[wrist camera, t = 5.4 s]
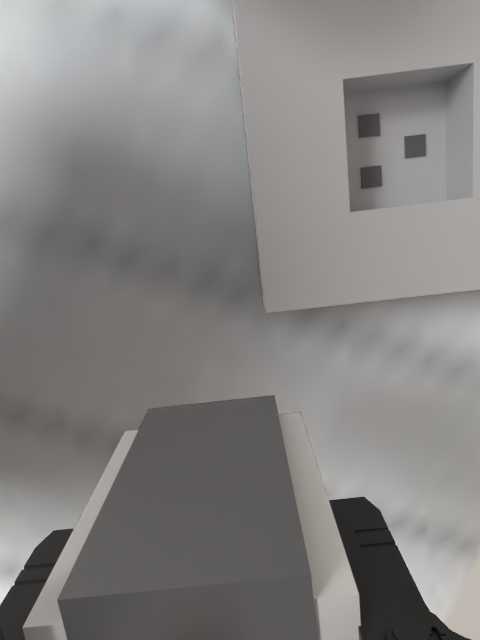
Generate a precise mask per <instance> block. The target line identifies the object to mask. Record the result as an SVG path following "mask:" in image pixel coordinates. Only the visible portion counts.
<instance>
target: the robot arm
mask: <svg viewBox="0 0 480 640" xmlns="http://www.w3.org/2000/svg"><path fill="white" fill-rule="evenodd" d="M278 416H279V421H280V426H281V431H282V435H283V440H284V445H285V450H286V455H287V460H288V465H289V469H290V474H291V479H292V484H293V489H294V494H295V499H296V503H297V508H298V513H299V518H300V523H301V528H302V533H303V537H304V542H305V547H306V552H307V557H308V562H309V566H310V571H311V578H312V589H313V600H314V610H315V621H316V632H317V640H470V639H468V638H465V637H463V636H461V635H459V634H457V633H455V632H453V631H451V630H450V629H449V628H448V627H447V626H446V625H445V624H444V623H443V622H442V621H441V620H440V619H439V618H438V617H437V616H436V615H435V614H433V613H431V612H430V611H429V609H428V607H427V606H426V604H425V603H424V601H423V599H422V597H421V595H420V593H419V590H418V588H417V586H416V584H415V582H414V580H413V578H412V576H411V574H410V572H409V570H408V568H407V566H406V564H405V562H404V560H403V557H402V555H401V553H400V551H399V549H398V547H397V545H395V541H394V539H393V537H392V535H391V533H390V531H389V530H388V527H387V525H386V522H385V520H384V518H383V516H382V514H381V512H380V510H379V509H378V508H376V507H375V506H374V505H373V504H372V503H371V502H369V501H368V500H367V499H366V498H365V497H357V498H348V499H338V500H328V497H327V494H326V490H325V487H324V484H323V481H322V478H321V475H320V472H319V469H318V466H317V463H316V459H315V456H314V453H313V450H312V447H311V444H310V441H309V438H308V435H307V432H306V428H305V425H304V422H303V419H302V416H301V413H300V412H297V413H288V414H278ZM137 432H138V430H131V431H125V432H124V434H123V436H122V438H121V440H120V442H119V444H118V445H117V447H116V449H115V451H114V453H113V455H112V457H111V459H110V461H109V463H108V465H107V467H106V468H105V470H104V472H103V474H102V476H101V478H100V480H99V482H98V484H97V486H96V488H95V489H94V491H93V493H92V495H91V497H90V499H89V501H88V503H87V505H86V507H85V509H84V511H83V512H82V514H81V516H80V518H79V520H78V522H77V524H76V526H75V528H74V529H65V530H55V531H53V532H52V533H51V534H50V535H49V536H47V537H46V538H45V539H44V540H43V541H42V542H41V543H40V544H39V545H38V546H37V547H36V548H35V549H34V551H33V553H32V554H31V556H30V558H29V559H28V561H27V563H26V564H25V566H24V570H22V571H21V572H20V574H19V576H18V577H17V579H16V581H15V585H14V586H12V587H11V589H10V591H9V592H8V594H7V595H6V597H5V599H4V600H3V602H2V604H1V605H0V640H67V637H66V633H65V629H64V625H63V621H62V617H61V613H60V609H59V605H58V602H57V599H58V597H59V595H60V593H61V591H62V589H63V587H64V585H65V582H66V580H67V578H68V576H69V574H70V572H71V570H72V568H73V566H74V564H75V562H76V560H77V557H78V555H79V553H80V551H81V549H82V547H83V545H84V543H85V541H86V539H87V537H88V534H89V532H90V530H91V528H92V526H93V524H94V522H95V520H96V518H97V516H98V514H99V512H100V509H101V507H102V505H103V503H104V501H105V499H106V497H107V495H108V493H109V491H110V489H111V486H112V484H113V482H114V480H115V478H116V476H117V474H118V472H119V470H120V468H121V466H122V464H123V461H124V459H125V457H126V455H127V453H128V451H129V449H130V447H131V445H132V443H133V441H134V438H135V436H136V434H137Z"/></svg>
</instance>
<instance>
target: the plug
mask: <svg viewBox="0 0 480 640" xmlns="http://www.w3.org/2000/svg"><path fill="white" fill-rule="evenodd" d="M57 602H58V605H59V609H60V613H61V617H62V621H63V625H64V629H65V633H66V637H67V640H317V632H316V621H315V610H314V600H313V589H312V578H311V571H310V566H309V562H308V557H307V552H306V547H305V542H304V537H303V533H302V528H301V523H300V518H299V513H298V508H297V503H296V499H295V494H294V489H293V484H292V479H291V474H290V469H289V465H288V460H287V455H286V450H285V445H284V440H283V435H282V431H281V426H280V421H279V416H278V411H277V406H276V402H275V397H274V395H272V396H263V397H253V398H244V399H235V400H226V401H217V402H208V403H198V404H189V405H180V406H171V407H162V408H153V409H148V411H147V413H146V416H145V418H144V420H143V422H142V424H141V426H140V428H139V430H138V432H137V434H136V436H135V438H134V441H133V443H132V445H131V447H130V449H129V451H128V453H127V455H126V457H125V459H124V461H123V464H122V466H121V468H120V470H119V472H118V474H117V476H116V478H115V480H114V482H113V484H112V486H111V489H110V491H109V493H108V495H107V497H106V499H105V501H104V503H103V505H102V507H101V509H100V512H99V514H98V516H97V518H96V520H95V522H94V524H93V526H92V528H91V530H90V532H89V534H88V537H87V539H86V541H85V543H84V545H83V547H82V549H81V551H80V553H79V555H78V557H77V560H76V562H75V564H74V566H73V568H72V570H71V572H70V574H69V576H68V578H67V580H66V582H65V585H64V587H63V589H62V591H61V593H60V595H59V597H58V599H57Z"/></svg>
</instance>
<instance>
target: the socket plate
mask: <svg viewBox="0 0 480 640" xmlns="http://www.w3.org/2000/svg"><path fill="white" fill-rule="evenodd" d="M233 19H234V29H235V38H236V48H237V58H238V67H239V77H240V86H241V96H242V106H243V115H244V125H245V134H246V144H247V154H248V163H249V173H250V182H251V192H252V202H253V211H254V221H255V230H256V240H257V250H258V259H259V269H260V278H261V288H262V298H263V303H264V307H265V311H266V313H273V312H282V311H291V310H300V309H309V308H318V307H327V306H336V305H345V304H354V303H363V302H372V301H381V300H391V299H400V298H409V297H418V296H427V295H436V294H445V293H454V292H463V291H472V290H480V0H233Z"/></svg>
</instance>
